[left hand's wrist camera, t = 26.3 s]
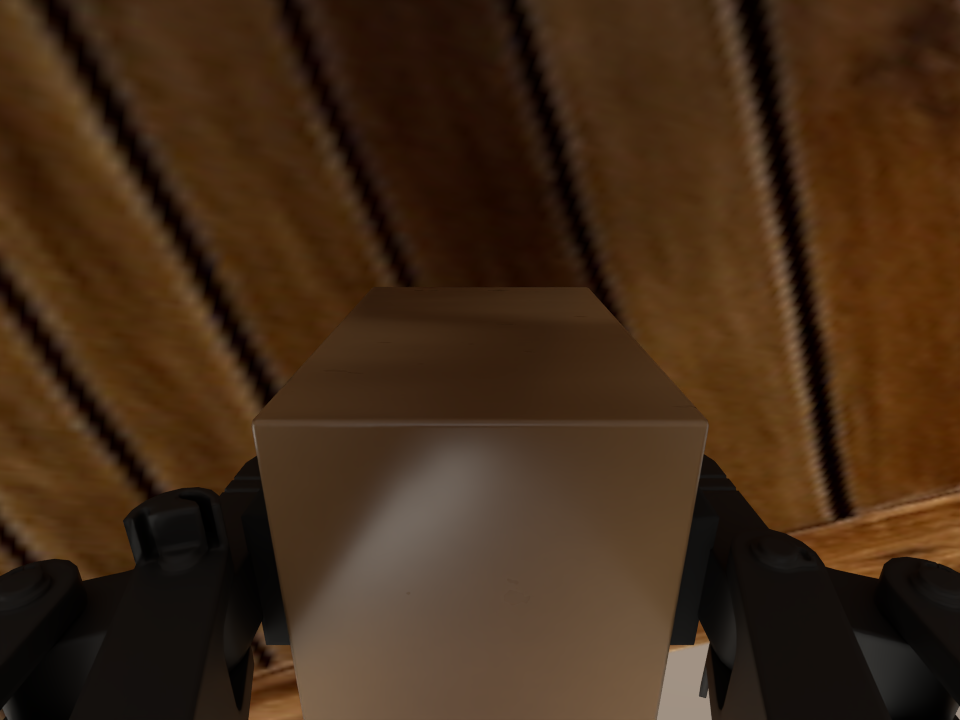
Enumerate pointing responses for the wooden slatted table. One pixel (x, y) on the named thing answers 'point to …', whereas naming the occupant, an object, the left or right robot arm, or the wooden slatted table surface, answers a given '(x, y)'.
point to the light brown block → (480, 509)
